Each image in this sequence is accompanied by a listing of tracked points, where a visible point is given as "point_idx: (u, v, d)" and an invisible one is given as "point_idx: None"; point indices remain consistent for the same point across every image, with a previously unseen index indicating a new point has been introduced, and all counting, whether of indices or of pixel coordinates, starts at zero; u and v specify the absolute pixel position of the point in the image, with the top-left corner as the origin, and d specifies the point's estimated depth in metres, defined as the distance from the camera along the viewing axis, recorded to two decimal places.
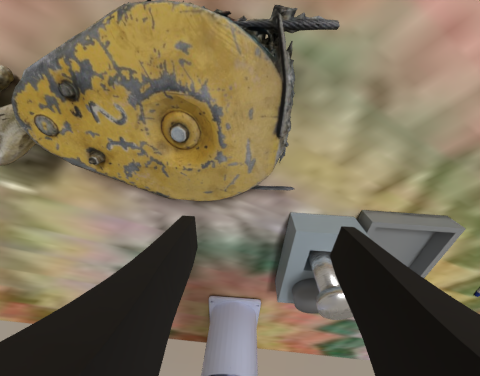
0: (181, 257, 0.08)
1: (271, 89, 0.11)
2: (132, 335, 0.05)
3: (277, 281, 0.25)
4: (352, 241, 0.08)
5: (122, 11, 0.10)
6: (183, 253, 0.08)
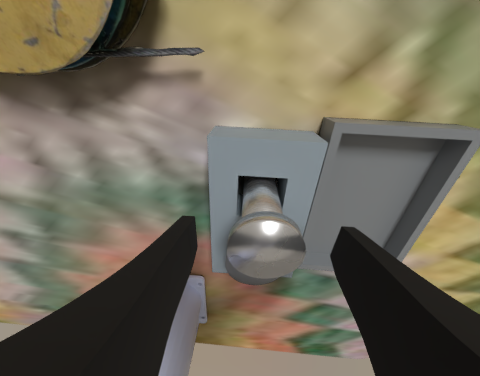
0: (181, 257, 0.08)
1: None
2: (132, 335, 0.05)
3: None
4: (352, 241, 0.08)
5: None
6: (183, 253, 0.08)
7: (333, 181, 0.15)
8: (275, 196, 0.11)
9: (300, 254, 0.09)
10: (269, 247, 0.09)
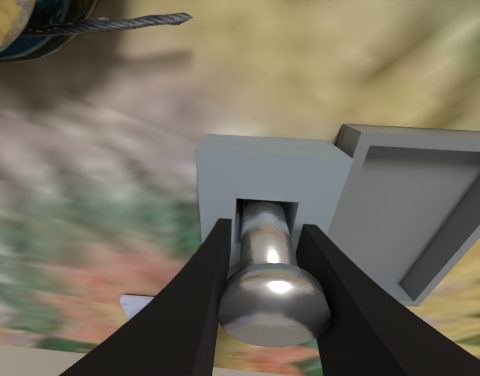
0: (225, 261, 0.08)
1: None
2: (206, 341, 0.05)
3: None
4: (309, 238, 0.08)
5: None
6: (226, 256, 0.08)
7: (351, 200, 0.12)
8: (283, 227, 0.09)
9: (322, 323, 0.06)
10: (278, 314, 0.06)
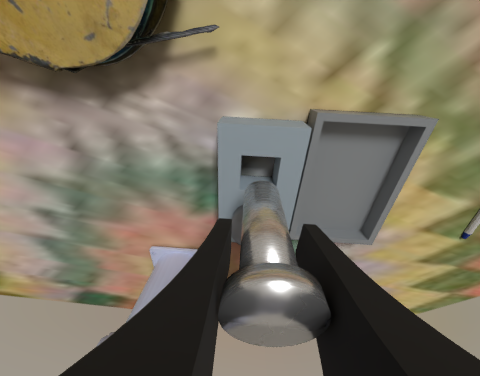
0: (225, 260, 0.08)
1: None
2: (205, 341, 0.05)
3: None
4: (309, 238, 0.08)
5: None
6: (226, 256, 0.08)
7: (319, 163, 0.18)
8: (283, 227, 0.09)
9: (322, 323, 0.06)
10: (278, 314, 0.06)
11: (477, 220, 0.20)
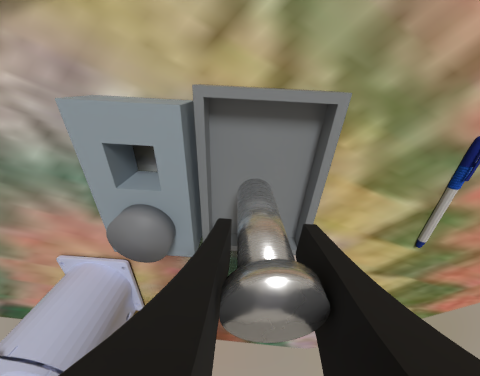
0: (224, 260, 0.08)
1: None
2: (205, 341, 0.05)
3: None
4: (309, 238, 0.08)
5: None
6: (226, 256, 0.08)
7: (225, 155, 0.14)
8: (279, 223, 0.09)
9: (322, 315, 0.06)
10: (279, 309, 0.06)
11: (431, 225, 0.17)
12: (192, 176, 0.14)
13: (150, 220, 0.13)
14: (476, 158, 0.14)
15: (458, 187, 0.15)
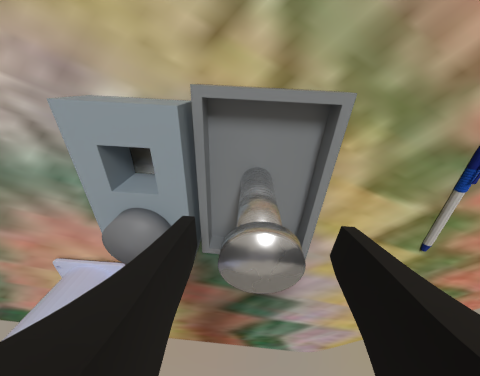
0: (181, 257, 0.08)
1: None
2: (132, 335, 0.05)
3: None
4: (352, 241, 0.08)
5: None
6: (183, 253, 0.08)
7: (225, 157, 0.14)
8: (272, 202, 0.10)
9: (299, 269, 0.08)
10: (265, 261, 0.08)
11: (436, 228, 0.16)
12: (190, 179, 0.13)
13: (147, 225, 0.12)
14: None
15: (465, 190, 0.14)
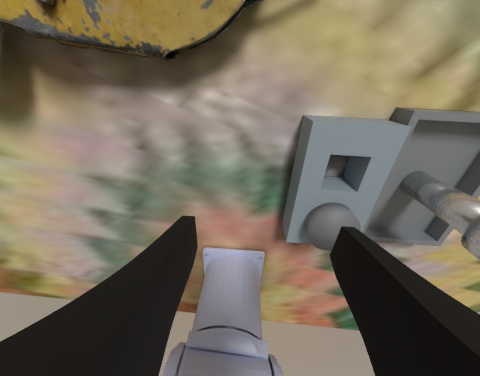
0: (181, 257, 0.08)
1: None
2: (132, 335, 0.05)
3: (285, 219, 0.21)
4: (352, 241, 0.08)
5: None
6: (183, 253, 0.08)
7: None
8: (472, 197, 0.14)
9: None
10: None
11: None
12: None
13: (353, 215, 0.16)
14: None
15: None
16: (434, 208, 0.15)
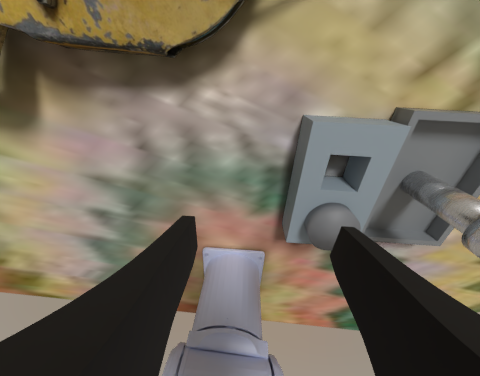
0: (181, 257, 0.08)
1: None
2: (132, 335, 0.05)
3: (285, 219, 0.21)
4: (352, 241, 0.08)
5: None
6: (183, 253, 0.08)
7: None
8: (472, 196, 0.14)
9: None
10: None
11: None
12: None
13: (353, 215, 0.16)
14: None
15: None
16: (434, 207, 0.15)
